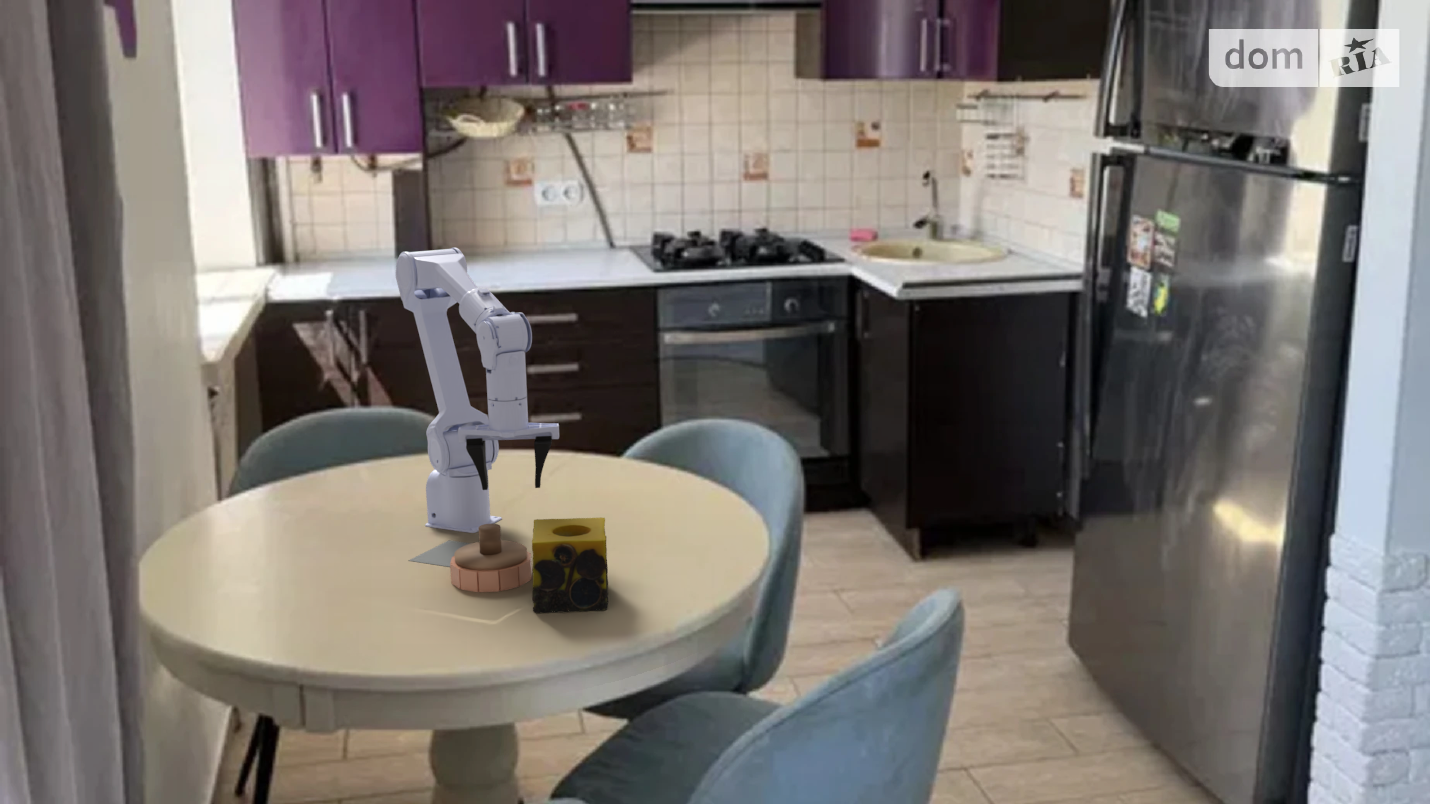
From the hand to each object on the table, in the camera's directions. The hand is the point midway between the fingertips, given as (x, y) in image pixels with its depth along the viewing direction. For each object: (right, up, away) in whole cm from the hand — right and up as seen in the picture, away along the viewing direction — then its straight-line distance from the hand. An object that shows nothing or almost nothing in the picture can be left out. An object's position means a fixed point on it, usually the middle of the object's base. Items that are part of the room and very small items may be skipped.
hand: (511, 487), depth 202 cm
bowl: (-1, -12, -10) cm, 16 cm away
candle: (+11, -14, -18) cm, 25 cm away
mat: (-8, -10, 0) cm, 13 cm away
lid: (-1, -9, -11) cm, 14 cm away
